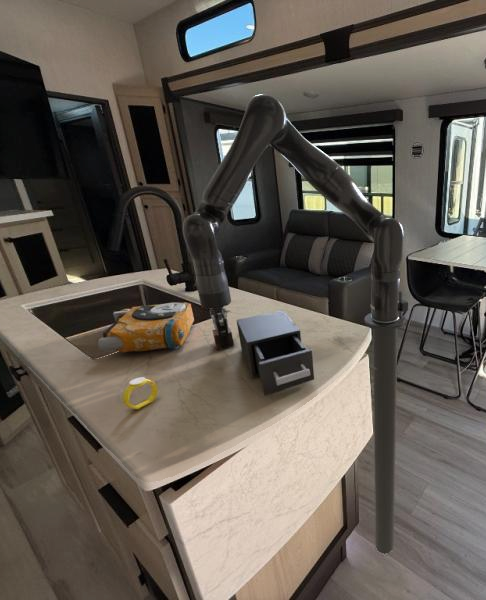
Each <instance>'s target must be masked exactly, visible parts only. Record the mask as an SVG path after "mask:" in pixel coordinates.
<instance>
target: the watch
mask: <svg viewBox="0 0 486 600" xmlns="http://www.w3.org/2000/svg"><path fill="white" fill-rule="evenodd" d="M146 383H148V384H150V386H151V393H150V395H149V397H147V399H146V400H144V401H142V402H140V403H138V404H136V405H132V403H131V402H130V395H131V393H132V391H134V389H136V388H139V387H141V386H144V385H146ZM158 391H159V390H158V385H157V383H155V382H154V381H153V380H150V379H148V378H146V377H144V376H142V377H141V376H140V377H136V378H133V379H131V380H130V381H129V385H128V386H127V388H125V390H124V393H123V396H122V400H123V404H124V405H125V406H126V407H127V408H129V409H132V410H140V409H141V408H143V407H145V406H147V405H149V404H151V403H153V401H155V398H156V397H157V395H158Z"/></svg>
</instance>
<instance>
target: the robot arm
mask: <svg viewBox="0 0 486 600" xmlns="http://www.w3.org/2000/svg"><path fill="white" fill-rule="evenodd" d="M230 145H231V146H230V147H229V149H228V150H227V152H226V154H225V156H224V157H223V159H222V161H221V162H220V163H219V165H218V167H217V168H216V170H215V171H214V173H213V175H212V176H211V178H210V179H209V181H208V183H207V185H206V186H205V188H204V190H203V192H202V194H201V201H200V202H199V205H198V206H197V208H196V210H195V211H194V213H192V214H190V215H188V216H187V217H185V218H184V220H183V221H182V235H183V239H184V241H185V244H186V246H187V249H188V251H189V253H190V255H191V258H192V264H193V269H194V274H195V283H196V289H197V293H198V297H199V302H200V306H201V308H203V309H206V310H209V313H210V317H211V320H212V324H213V326H214V327H213V328H214V330H215V329H216V330H217V331H218V337H219V339H220V344H221V348H222V349H221V350H224V349H225V350H226V349H229V348H231V347H230V344H229V339H228V336H229V333H228V327H229V322H228V312H227V310H226V308H225V307H226V306H229V305H230V304H231V303H232V298H231V297H232V296H231V292H230V286H229V281H228V276H227V274H226V270H225V264H224V259H223V255H222V253H221V251H220V250H219V248H218V244H217V240H216V236H217V234H218V233H219V232H220V229H221V228H222V226H223V224H224V222H225V220H226V218H227V216H228V213H229V211H230V210H231V209H232V208H233V207H234V205H235V203H236V202H237V200H238V198H239V196H240V195H241V193H242V191H243V190H244V188H245V186H246V184H247V182H248V180H249V178H250V176H251V173H252V172H253V169H254V167H255V166H256V164H257V162H258V161H259V159H260V157H261V155H263V153H264V151H266V149H267V148H268V147H269V146H270V147H271V148H273V149H274V150H275V151H276V152H277V153H279V154H280V155H281V156H282V157H284V158H285V159H286V160H287V161H288V162H289V163H290V164H291V165H292V166H293V167H294V168H295V169H296V171H297V172H298V173H299V174H300V175H301V176H302V177H303V179H304V180H306V182H307V183H309V184H310V186H311V187H313V189H314V190H315V191H316V192H317V193H318V194H319V195H321V196H322V197H323V198H324V199H326V201H328V202H329V203H331V205H332V206H333V207H335V208H336V209H337V210H338V211H339V212H341V213H343V214H344V215H346V216H347V217H348V218H350V219H351V220H352V221H353V222H354V223H355V224H356V225H357V226H358V227H359V228H360V230H361V231H363V233H364V234H365V235H366V236H367V238H368V239H369V240H370V241H371V242H372V243H373V258H372V259H371V260H370V302H371V304H369V307H370V310H371V311H370V313H371V319H372V321H374V322H376V323H380V324H391V323H395V322H397V321H398V320H399V319H401V316H402V315H403V316H405V315H406V313H407V312H408V311H409V301H406V300H405V299H403V292H402V291H401V290H400V289H401V288H400V285H401V284H400V283H401V280H400V279H401V273H400V272H401V263H402V260H403V254H404V253H403V252H404V229H403V225H402V224H401V222H400V221H399V220H398V219H396V218H394V217H390V216H387V215H385V214H384V213H382V211H380V210H379V209H377V207H375V206H374V205H373V204H372V203H371V202H370V201H369V200H368V199H367V198H366V197H365V195H364V194H363V192H362V190H361V189H360V187H359V186H358V185H357V183H356V182H355V180H354V179H353V178H352V177H351V176H350V174H349V173H348V172H347V171H346V170H345V169H344V168H342V166H341V165H340V164H339V163H338V162H336V160H334V159H333V158H332V157H331V156H329V155H328V154H326V153H325V152H324V151H322V150H321V149H320V148H318V147H317V146H316V145H314V144H313V143H311V142H310V141H309V140H307V139H306V138H305V137H304V136H303V135H302V134H301V133H300V131H298V129H296V127H295V126H294V125H293V124H292V123H291V121H290V120H289V119H288V117H287V115H286V110H285V108H284V106H283V104H281V102H280V101H279V100H278V99H276V97H274V96H272V95H270V94H265V93H263V94H262V93H261V94H257V95H255V96H252V98H251V99H250V100H248V102H247V104H246V107H245V111H244V114H243V117H242V120H241V123H240V125H239V128H238V131H237V133H236V136H235V137H234V140H233V141H232V143H231V144H230ZM224 330H225V331H226V332H222V333H220V332H221V331H224Z"/></svg>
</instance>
